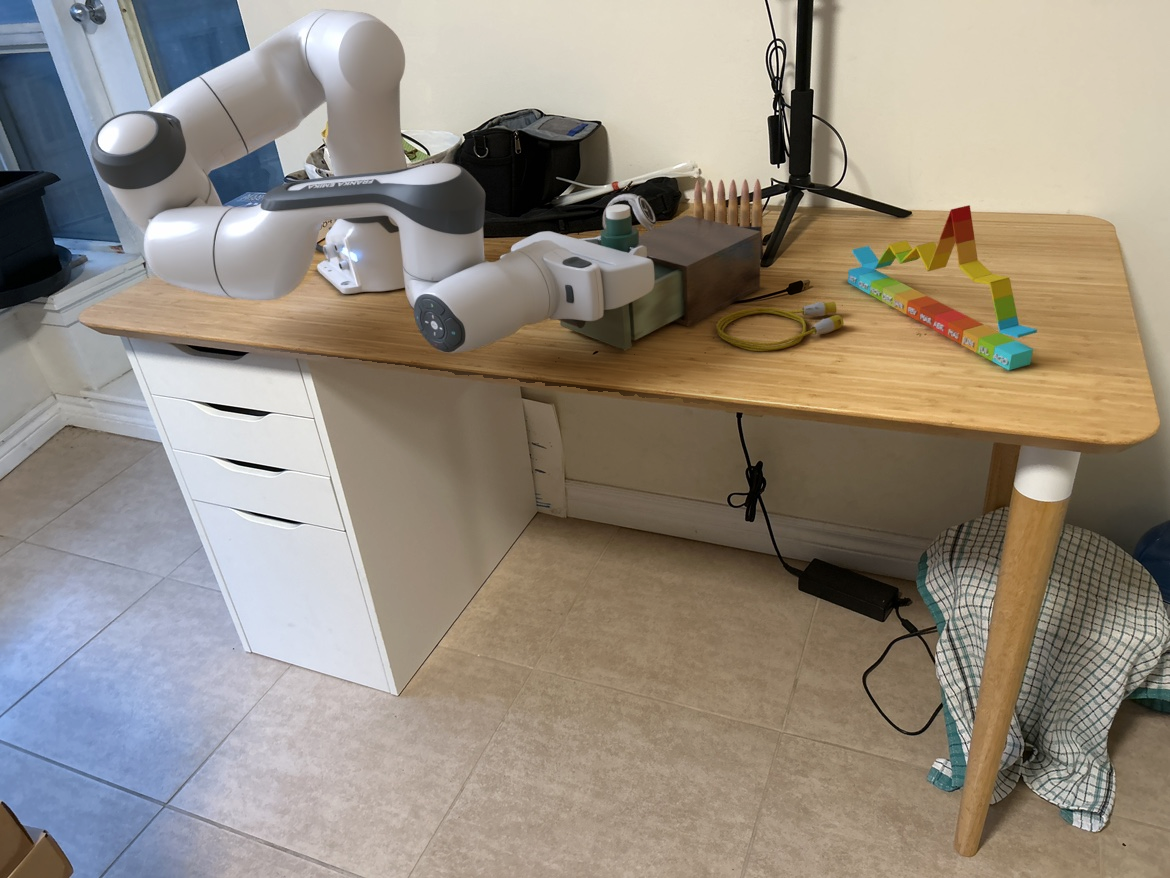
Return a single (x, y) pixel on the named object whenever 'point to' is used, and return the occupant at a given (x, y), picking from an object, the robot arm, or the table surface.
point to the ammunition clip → (731, 206)
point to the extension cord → (810, 310)
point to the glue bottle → (619, 229)
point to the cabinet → (707, 262)
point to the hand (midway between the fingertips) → (625, 246)
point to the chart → (939, 314)
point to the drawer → (638, 312)
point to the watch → (636, 210)
